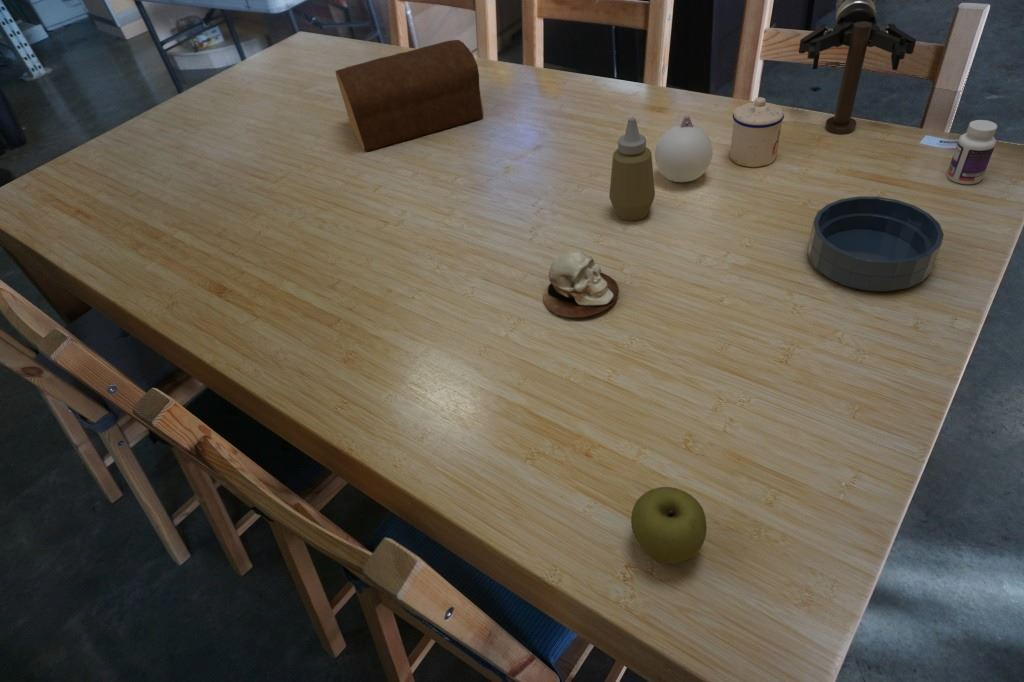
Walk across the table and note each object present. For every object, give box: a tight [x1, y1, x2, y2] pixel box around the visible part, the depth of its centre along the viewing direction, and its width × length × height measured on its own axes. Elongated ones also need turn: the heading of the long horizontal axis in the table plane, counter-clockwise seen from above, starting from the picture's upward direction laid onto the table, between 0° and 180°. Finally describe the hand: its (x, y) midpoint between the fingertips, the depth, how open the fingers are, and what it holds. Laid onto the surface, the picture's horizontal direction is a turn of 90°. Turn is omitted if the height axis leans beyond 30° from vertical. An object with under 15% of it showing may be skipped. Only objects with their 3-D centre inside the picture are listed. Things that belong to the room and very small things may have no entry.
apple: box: [630, 486, 707, 564], centre depth 72 cm, size 8×8×7 cm
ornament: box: [654, 115, 713, 183], centre depth 125 cm, size 10×10×12 cm
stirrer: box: [824, 21, 872, 135], centre depth 128 cm, size 6×6×20 cm
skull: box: [542, 250, 620, 318], centre depth 106 cm, size 12×10×10 cm
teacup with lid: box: [729, 96, 785, 168], centre depth 128 cm, size 12×9×12 cm
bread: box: [335, 39, 485, 152], centre depth 156 cm, size 18×30×16 cm, turn 111°
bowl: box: [807, 195, 945, 292], centre depth 103 cm, size 17×17×6 cm
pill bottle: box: [946, 119, 998, 185], centre depth 114 cm, size 5×5×10 cm
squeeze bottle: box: [608, 117, 656, 222], centre depth 116 cm, size 8×8×18 cm
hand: (855, 62), depth 124 cm, fingers open, 13 cm apart
